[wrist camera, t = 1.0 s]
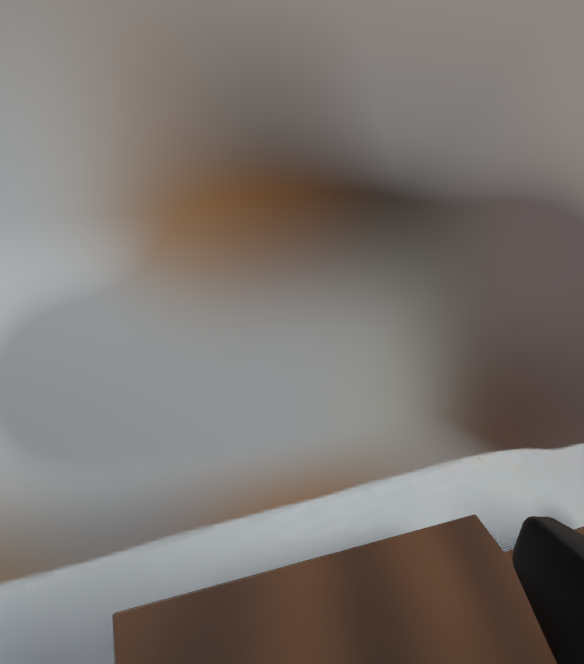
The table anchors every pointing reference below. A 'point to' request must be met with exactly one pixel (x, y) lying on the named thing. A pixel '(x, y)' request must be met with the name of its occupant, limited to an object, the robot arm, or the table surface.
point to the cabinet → (352, 609)
